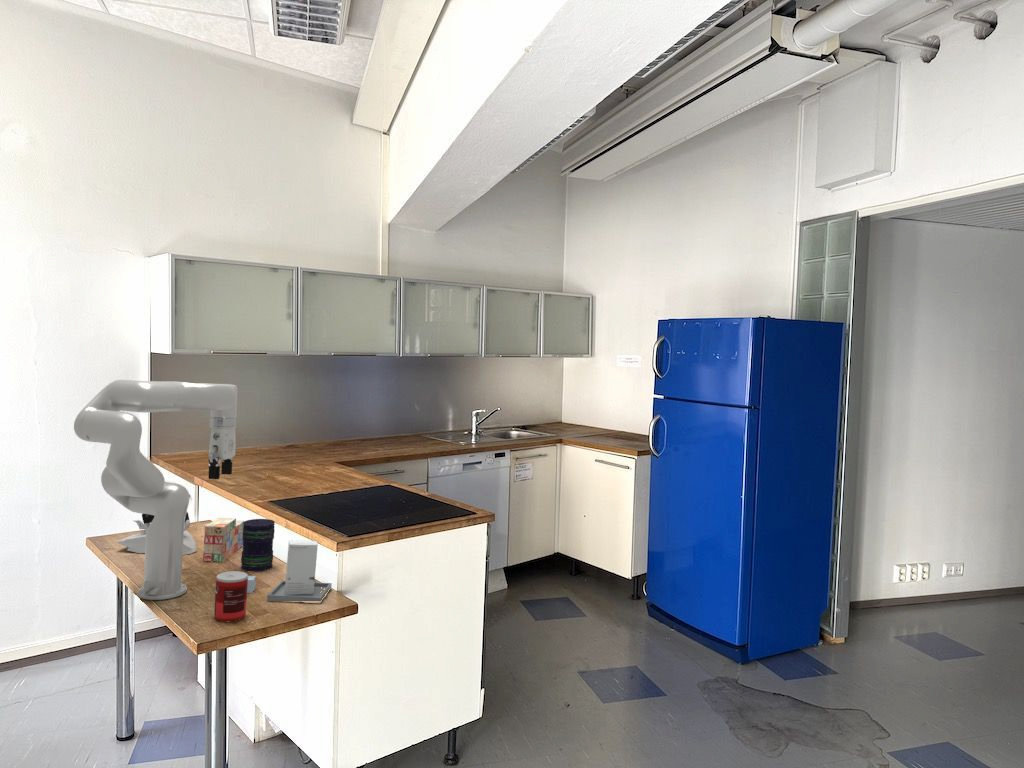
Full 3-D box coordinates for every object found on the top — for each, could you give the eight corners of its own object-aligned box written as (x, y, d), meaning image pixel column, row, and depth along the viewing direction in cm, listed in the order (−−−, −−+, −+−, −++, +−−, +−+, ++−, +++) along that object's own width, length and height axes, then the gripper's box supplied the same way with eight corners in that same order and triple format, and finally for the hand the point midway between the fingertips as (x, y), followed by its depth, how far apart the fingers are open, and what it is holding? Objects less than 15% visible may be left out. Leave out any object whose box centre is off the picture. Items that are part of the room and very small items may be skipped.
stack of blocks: (225, 545, 243) (227, 511, 243) (243, 546, 243) (245, 512, 243) (202, 562, 222) (204, 525, 221) (222, 562, 222) (224, 526, 222)
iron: (135, 544, 237) (137, 502, 237) (203, 548, 237) (205, 506, 237) (116, 552, 226) (119, 508, 226) (188, 557, 226) (190, 513, 226)
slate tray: (320, 604, 189) (320, 597, 189) (266, 601, 189) (267, 595, 189) (331, 589, 202) (331, 583, 202) (281, 586, 202) (281, 580, 202)
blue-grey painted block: (255, 589, 199) (255, 576, 199) (252, 593, 195) (253, 580, 195) (226, 589, 197) (227, 576, 197) (223, 594, 193) (224, 580, 193)
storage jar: (275, 570, 217) (278, 524, 217) (243, 573, 212) (246, 526, 212) (269, 561, 226) (271, 517, 225) (238, 564, 221) (240, 519, 220)
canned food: (227, 609, 181) (229, 569, 181) (252, 614, 179) (254, 573, 179) (207, 619, 174) (209, 577, 173) (232, 624, 171) (234, 581, 171)
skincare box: (284, 596, 192) (287, 544, 191) (284, 589, 197) (287, 539, 197) (315, 594, 194) (317, 543, 194) (314, 587, 200) (316, 538, 200)
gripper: (224, 425, 203) (221, 481, 204) (245, 421, 221) (242, 473, 221) (199, 424, 203) (196, 480, 203) (222, 420, 220) (219, 471, 221)
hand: (220, 476), depth 212 cm, fingers open, 9 cm apart
